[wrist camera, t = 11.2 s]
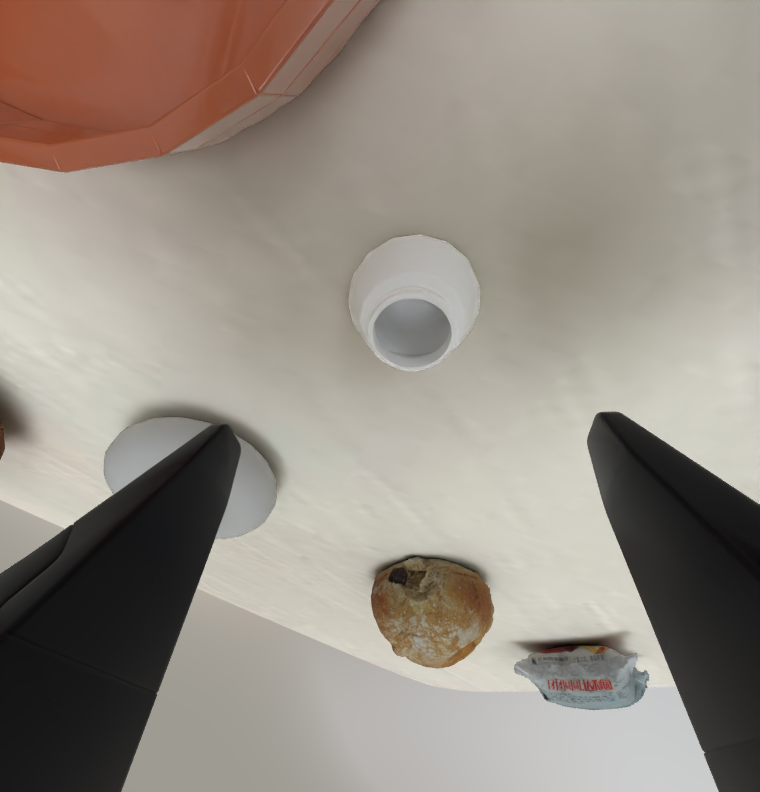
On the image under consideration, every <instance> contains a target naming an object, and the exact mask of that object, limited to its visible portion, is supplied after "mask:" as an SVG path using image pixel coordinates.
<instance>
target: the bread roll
mask: <svg viewBox="0 0 760 792" xmlns="http://www.w3.org/2000/svg"><path fill="white" fill-rule="evenodd" d="M371 604H372V610H373V614H374V617H375V620H376V622H377V624H378V627H379V629H380V631H381V633H382V634H383V635H384V637H385V638H386V639H387V640H388V641H389V642H390V643H391V645H392V649H393V651H394V653H395V654H396V655H397V656H400V657H404V656H406V657H407V658H408V659H409V660H410V661H412V662H414V663H417V664H419V665H422V666H425V667H432V668H444V667H449V666H452V665H454V664H456V663H457V662H458V661H461V660H462V659H464V658H465V657H467V656H468V655H469V654H470V653H471V652H472V651H473V650H474V649H475V647H476V646H477V645H478V644H479V643H480V642H481V640H482V638H483V637H484V635H485V633H487V632H488V631H489V629H490V628H491V625H492V622H493V613H494V606H493V604H492V601H491V594H490V588H489V587H488V586H487V585H486V583H485V582H484V581H483V579H482V578H481V577H480V576H479V574H478V573H477V572H476V571H470V570H468V569H467V568H464V567H462V566H461V565H459V564H456V563H453V562H450V561H446V560H442V559H423V558H420V557H418V556H417V557H414V558H409V559H408V560H406V561H403V562H401V563H398V564H394V565H393V566H391V567H390V568H388V569H386V570H383V571H381V572H380V573H379V574H378V575H377V577H376V579H375V581H374V584H373V588H372V594H371Z"/></svg>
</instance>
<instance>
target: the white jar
mask: <svg viewBox="0 0 760 792" xmlns="http://www.w3.org/2000/svg"><path fill="white" fill-rule="evenodd" d="M348 305H349V309H350V314H351V318H352V322H353V325H354V327H355V328H356V329H357V331H358V332H359V333H360V335H361V336H362V338H363V339H364V340H365V342H366V343H367V344H368V346H369V347H370V348H371V350H372V351H373V352H374V353H375V355H376V356H377V357H378V358H379V359H380V360H381V361H382V362H384V363H385V364H387V365H389V366H391V367H393V368H396V369H399V370H403V371H421V370H425V369H429V368H431V367H433V366H435V365H437V364H439V363H440V362H442V361H443V360H444V359H445V358H446V357H447V356H448V355H449V354H450V352H452V351H453V350H454V349H455V348H456V347H457V346H458V345H459V344H460V343H461V342H462V341H463V340H464V339H465V338H466V337H467V335H468V334H469V333H470V331H471V329H472V327H473V325H474V323H475V320H476V318H477V316H478V314H479V312H480V285H479V282H478V280H477V278H476V275H475V273H474V271H473V269H472V267H471V264H470V262H469V260H468V259H467V258H466V257H465V256H464V255H463V254H461V253H460V252H459V251H458V250H457V249H455V248H454V247H453V246H452V245H451V244H449V243H448V242H447V241H443V240H439V239H436V238H432V237H429V236H425V235H421V234H417V235H411V236H404V237H397V238H391V239H390V240H388V241H387V242H385V243H383V244H382V245H380V246H379V247H377V248H375V249H374V250H372V251H371V252H369V253H368V254H367V255H366V257H365V258H364V260H363V261H362V263H361V264H360V266H359V267H358V269H357V270H356V272H355V273H354V275H353V277H352V281H351V287H350V293H349V298H348Z"/></svg>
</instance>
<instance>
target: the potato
mask: <svg viewBox="0 0 760 792" xmlns="http://www.w3.org/2000/svg"><path fill="white" fill-rule="evenodd" d="M4 450H5V442H4V428H3V426H2V425H1V423H0V459H1V457H2V455H3V452H4Z"/></svg>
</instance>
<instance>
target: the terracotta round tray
mask: <svg viewBox="0 0 760 792" xmlns="http://www.w3.org/2000/svg"><path fill="white" fill-rule="evenodd" d="M377 3H378V0H0V162H3V163H9V164H15V165H21V166H27V167H33V168H39V169H45V170H51V171H57V172H65V173H66V172H72V171H78V170H84V169H90V168H96V167H102V166H108V165H114V164H120V163H126V162H132V161H138V160H144V159H149V158H155V157H161V156H166V155H171V154H175V153H180V152H185V151H189V150H194V149H198V148H203V147H208V146H212V145H217V144H219V143H222V142H224V141H226V140H227V139H229V138H231V137H232V136H234V135H235V134H237V133H239V132H240V131H242V130H244V129H246V128H248V127H250V126H252V125H254V124H256V123H258V122H261V121H263V120H264V119H265V118H267V117H268V116H269V115H271V114H272V113H274V112H275V111H276V110H278V109H279V108H280V107H282V106H283V105H285V104H287V103H288V102H290V101H292V100H293V99H295V98H297V96H298V95H300V94H301V93H302V92H303V91H304V90H305V88H306V87H307V86H308V85H309V84H310V83H311V82H312V81H313V80H314V79H315V78H316V77H317V76H318V74H319V73H320V72H321V71H322V70H323V69H324V68H325V67H326V66H327V65H328V64H329V63H330V62H331V61H332V60H333V59H334V58H335V57H336V56H337V55H338V54H339V53H340V52H341V50H342V49H343V47H344V46H345V45H346V43H347V42H348V41H349V39H350V38H351V37H352V35H353V34H354V33H355V31H356V30H357V29H358V27H359V26H360V24H361V23H362V22H363V20H364V19H365V18H366V16H367V15H368V14H369V13H370V11H371V10H372V9H373V8H374V7H375V5H376V4H377Z"/></svg>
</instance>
